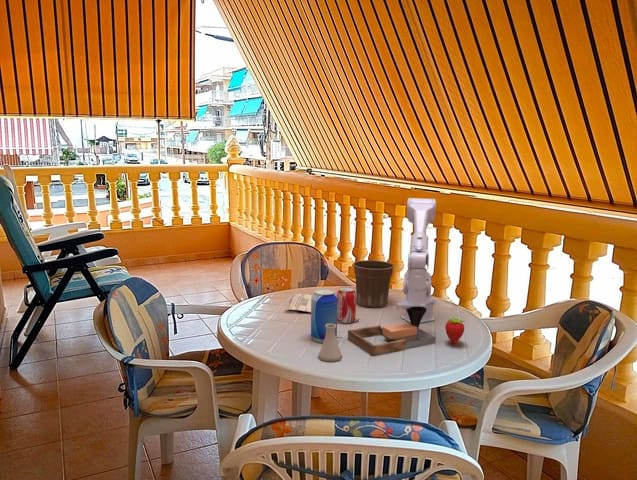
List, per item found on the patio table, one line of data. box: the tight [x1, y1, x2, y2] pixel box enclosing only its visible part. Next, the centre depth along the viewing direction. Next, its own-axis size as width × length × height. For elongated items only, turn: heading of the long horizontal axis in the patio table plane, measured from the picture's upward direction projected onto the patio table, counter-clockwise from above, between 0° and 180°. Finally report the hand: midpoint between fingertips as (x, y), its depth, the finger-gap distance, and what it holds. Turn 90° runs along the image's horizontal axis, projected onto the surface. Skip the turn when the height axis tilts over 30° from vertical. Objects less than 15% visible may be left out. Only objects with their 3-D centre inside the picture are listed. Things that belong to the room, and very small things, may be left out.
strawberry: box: [445, 314, 465, 345], centre depth 163 cm, size 6×8×10 cm
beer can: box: [310, 288, 338, 344], centre depth 165 cm, size 8×8×16 cm
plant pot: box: [352, 259, 395, 309], centre depth 203 cm, size 16×16×16 cm
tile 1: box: [382, 324, 404, 339], centre depth 165 cm, size 5×5×2 cm
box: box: [347, 324, 407, 357], centre depth 162 cm, size 12×15×3 cm
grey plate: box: [380, 327, 437, 350], centre depth 167 cm, size 12×14×2 cm
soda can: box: [336, 286, 357, 324], centre depth 182 cm, size 7×7×12 cm
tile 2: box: [395, 322, 417, 337], centre depth 167 cm, size 5×5×2 cm
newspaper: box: [284, 293, 313, 314], centre depth 201 cm, size 23×12×2 cm, turn 175°
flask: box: [317, 324, 343, 363], centre depth 151 cm, size 7×7×10 cm
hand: (414, 328), depth 168 cm, fingers closed
